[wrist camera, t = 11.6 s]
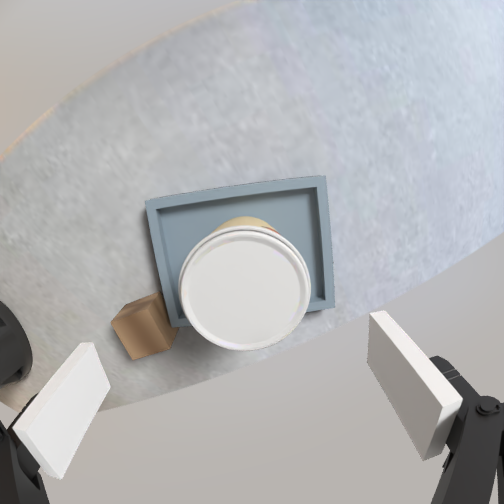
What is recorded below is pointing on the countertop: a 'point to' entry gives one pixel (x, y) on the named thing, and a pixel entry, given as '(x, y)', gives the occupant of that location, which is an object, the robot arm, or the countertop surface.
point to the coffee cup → (244, 285)
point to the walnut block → (145, 326)
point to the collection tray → (254, 205)
